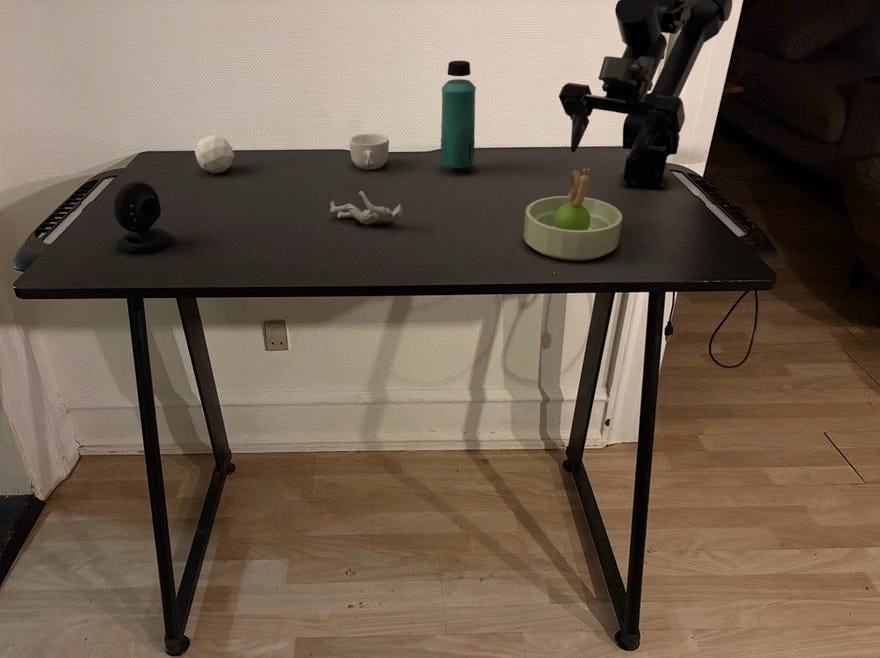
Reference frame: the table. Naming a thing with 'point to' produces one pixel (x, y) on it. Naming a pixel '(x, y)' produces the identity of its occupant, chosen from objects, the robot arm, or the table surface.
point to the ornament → (214, 154)
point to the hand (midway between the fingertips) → (600, 156)
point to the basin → (572, 242)
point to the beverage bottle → (458, 118)
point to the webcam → (139, 217)
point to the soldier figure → (368, 212)
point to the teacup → (369, 150)
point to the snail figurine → (574, 204)
